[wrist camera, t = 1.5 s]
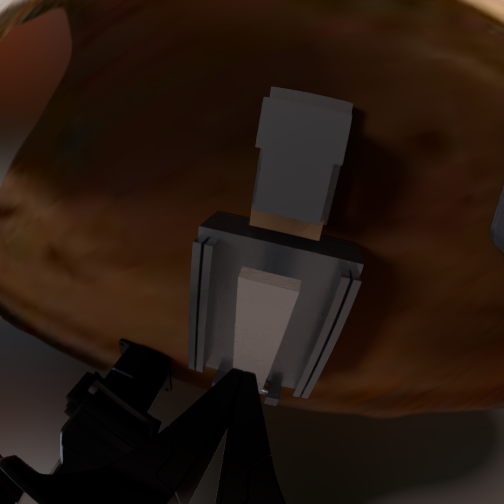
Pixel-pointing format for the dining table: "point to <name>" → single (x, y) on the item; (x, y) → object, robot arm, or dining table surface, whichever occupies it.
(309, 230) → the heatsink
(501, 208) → the camera
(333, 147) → the clip
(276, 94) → the clip rail
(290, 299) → the light grey flat bar
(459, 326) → the dining table surface
